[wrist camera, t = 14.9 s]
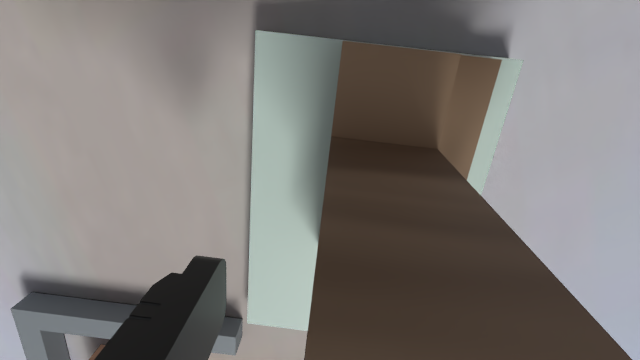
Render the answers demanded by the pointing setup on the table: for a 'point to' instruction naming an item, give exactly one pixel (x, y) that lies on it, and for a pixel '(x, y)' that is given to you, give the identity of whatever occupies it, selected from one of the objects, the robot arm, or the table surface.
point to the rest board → (311, 166)
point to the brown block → (427, 228)
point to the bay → (86, 324)
